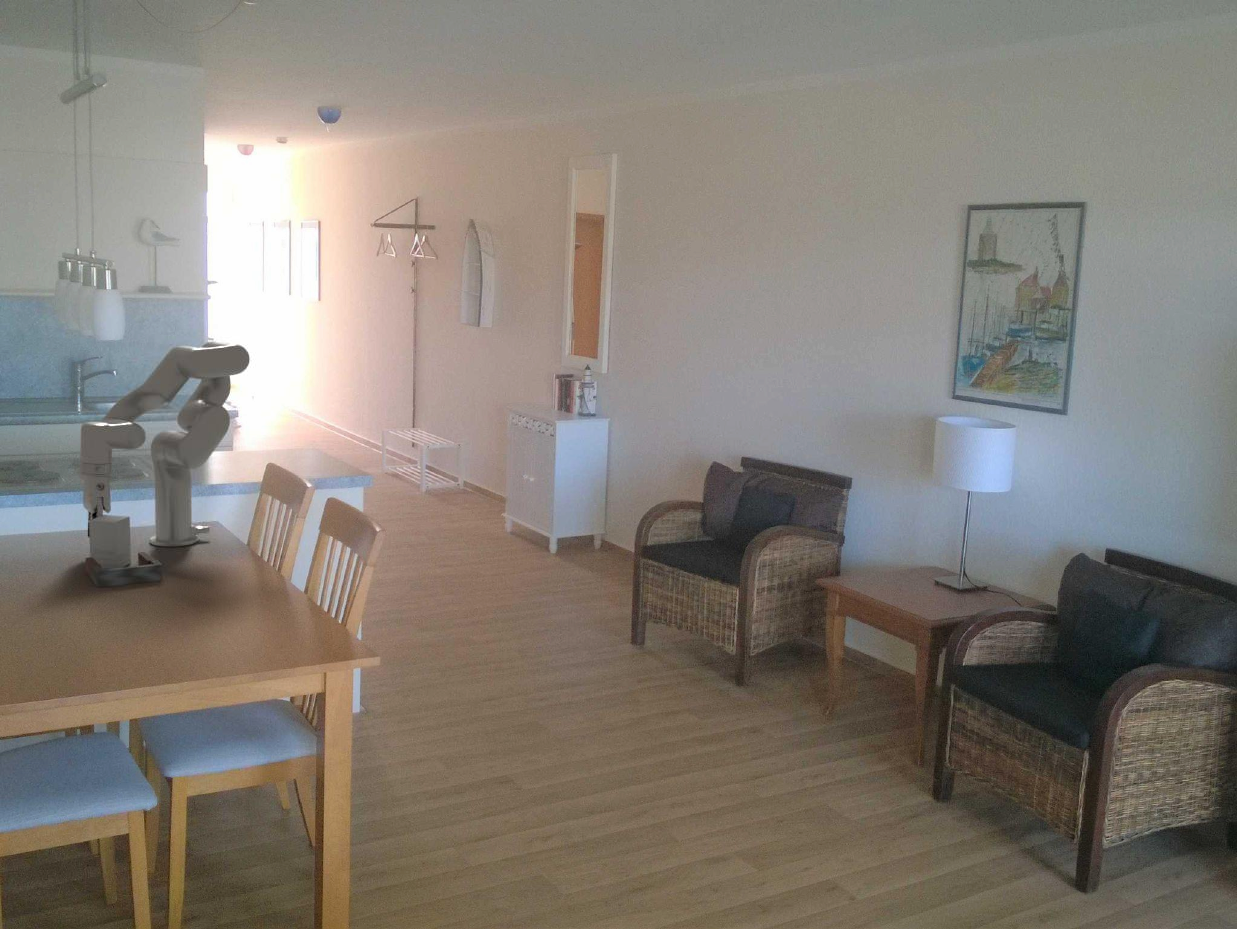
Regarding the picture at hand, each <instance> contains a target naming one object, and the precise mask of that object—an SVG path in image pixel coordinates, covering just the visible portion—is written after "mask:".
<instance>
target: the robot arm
mask: <svg viewBox="0 0 1237 929" xmlns="http://www.w3.org/2000/svg"><path fill="white" fill-rule="evenodd" d="M249 365H250V354H249V352H248V351H247V349H246V347H244V346H242V345H240V344H236V343H230V342H224V341H218V340H217V341H215V340H214V341H209V342H208V341H207V342H205V343H204V344H203V345H202V346H201V347H194V346H189V345H177V346H175V347H172V348H171V349H170V350H169V351H168V352H167V353H166V355H165V356H164V357H163V358H162V360H161V361H160V362H159V363H158V365H157V366H156V367H155V368H154V370H153V371H152V372H151V373H150V374H149V376H148V378H146V380H145V381H144V382H143V383H142V384H141V385H140V386H138V387H136V388H135V389H134V390H132V391H130V392H129V393H128V394H126V395H125V396H123V397H122V398H120V399H119V400H118V401H116V403H115V404H114V405H113V406H112V407H111V408H110V410H108V412H107V413H106V414H105V416H104V417H103V418H102V419H101V421H87V422H84V423H83V424H81V426H80V469H79V470H80V471H79V472H80V473H79V475H81V476H83V488H82V490H83V491H82V504H83V507H84V509H85V510H87V521H88V522H87V537H88V538H89V539H90V533H89V521H90V520H92V519H94V518H97V517H99V516H102V515H104V512H105V513H107V514H109V513H110V512H111V510H112V509H111V508H112V507H111V484H110V476H112V474H113V473H112V472H113V470H112V469H113V467H112V466H113V450H122V451H123V450H124V451H125V450H126V451H134V450H137V449H139V448H140V447H142V446H143V445H144V443H145V442H146V437H147V434H146V431H145V429H144V428H143V427H142V426H141V425H140V424H139V423H137V422H135V421H137V419H139V418H140V417H141V416H143V415H145V414H146V413H148V412H152V411H154V410H158V409H159V408H163V407H165V406H168V405H169V404H170V403H172V401H173V400H174V398H176V397H177V395H178V393H179V392H180V391H181V390H182V388H183V387H184V386H185V384H186V383H187V382H188V381H189V380H190V379H191V378H192V379H196V380H200V382H199V383H198V385H197V387H196V389H195V390H194V391H193V393H192V394H191V396H190V397H189V398H188V400H187V401H186V402H185V403H184V405H183V406H182V407H181V409H180V410H179V412H178V414H177V420H176V421H177V424H178V426H179V427H180V428H181V429H182V430H183V431H184V432H183V431H177V430H170V429H169V430H163V431H161V432H159V433H157V434H156V435H155V436H154V437H153V439H152V442H151V443H150V444H151V445H150V456H151V460H152V466H153V470H154V508H155V509H154V510H155V512H154V515H155V517H154V518H155V535H153V536H150V538H149V544H151V545H153V546H156V547H165V548H166V547H168V548H169V547H172V548H173V547H174V548H175V547H176V548H177V547H183V546H190V545H194V544H196V543H197V542H198V540H199V539H198V538H199V537H198V535H199V534H200V535H201V534H209V533H210V526H202V525H198V526H196V525H193V519H192V518H193V517H192V476H191V471H190V470H196V469H198V468H200V467H202V466H203V465H204V464H205V463H206V462H207V461H208V460H209V458H210V457H211V456H212V454H213V453H214V451H215V450H216V449H217V447H218V446H219V444H220V443H221V442H222V440H223V439H224V437H225V436H226V435H227V433H228V430H229V428H230V423H231V421H230V420H231V417H230V414H229V413H230V412H228V409H226V408H225V407H224V404H225V403H226V401H227V400H228V398H229V396H230V393H231V386H232V384H231V376H236V375H240V374H242V373H243V372H244V371H245V370H246V369H247V368H248V367H249ZM185 432H187V433H185Z"/></svg>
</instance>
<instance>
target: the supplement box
mask: <svg viewBox="0 0 1237 929" xmlns="http://www.w3.org/2000/svg"><path fill="white" fill-rule="evenodd" d="M130 518H131V517H130V516H126V515H112V514H111V515H110V514H103V515H102V516H99V517H97V518H94V519H92V520H90V521H89V533H90V538H89V555H90V556H89V557H93V558H94V559H95V560H96V561H97V562H98V563H99V564H100V565H101V568H102V569H103V570H106V569H115V568H124V567H127V566H129V565H130V564H131V563H132V550H131V549H132V548H131V546H132V545H131V521H130V520H131V519H130Z"/></svg>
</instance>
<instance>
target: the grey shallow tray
mask: <svg viewBox="0 0 1237 929" xmlns="http://www.w3.org/2000/svg"><path fill="white" fill-rule="evenodd" d="M137 556H138V557H137V564H138V565H135V566H134V565H133V566H124V567H122V568H115V569H102V568H101V565H100V564H99V563H98V562H97V561H96V560H95V559H94V558H93V557H90V556H89V557H86V558H85V574H86V575H87V576H88V577H89V578H90V579H91V580H92V583H93V584H94V585H95V586H96V587H97V588H107V587H115V586H116V587H117V586H122V585H133V584H141V583H143V584H144V583H149V582H157V581H158V582H159V581H163V580H164V578H163V564H162V563H161V562H160V561H159V560H157V559H154V558H152V557H151V556H150V555H149V554H148V553H146V552H145V551H138V553H137Z"/></svg>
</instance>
